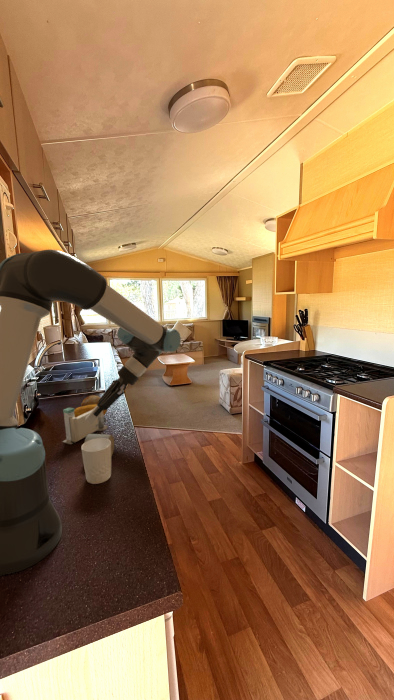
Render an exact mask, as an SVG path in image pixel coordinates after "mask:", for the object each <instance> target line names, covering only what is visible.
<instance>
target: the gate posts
mask: <svg viewBox="0 0 394 700" xmlns="http://www.w3.org/2000/svg"><path fill="white" fill-rule="evenodd" d="M74 410H75V408H74V407H66V408H63V410H62V412H63V418H64V427H65V428H64V429H65V437H66V438H65V439H64V440H63V441H62V443H64V444H67V445H73V444H75V443H76V442H72V436H71V426H70V418H72V417H75V415H74ZM98 427H99V429H98V430H97V431H96V432H104V431H106V430H108V425H107V424H106V425H105V419H104V416H103V411H102V413H101V414H100V415H99V416H98Z"/></svg>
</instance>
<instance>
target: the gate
mask: <svg viewBox="0 0 394 700" xmlns="http://www.w3.org/2000/svg"><path fill="white" fill-rule="evenodd" d="M91 411H92V410H91ZM91 411H89V412H87V413H84V414H82V415H80V416H78V417H72V418H70V426H71V436H72V442H75V443H76V442H79V441H80V440H82V439H84V438H86V436H87V435H88V434H94V433H95V432H98V431H97V430H98V429H99V427H98V417H97V418H96V420H95V421H94V422H93V423H92V424H91V423H89V422H88V421H86V420H85V418H86V417H87V416H88V415H89V414H90V413H91Z"/></svg>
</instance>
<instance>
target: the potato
mask: <svg viewBox="0 0 394 700" xmlns="http://www.w3.org/2000/svg"><path fill="white" fill-rule="evenodd" d="M96 406H97V404H95V405H87V406H82V407H81V406H79V407H76V408H74V415H75V417H78V416H80V415H82V414H84V413H87V412H89V411H91V410H93V409H94V408H95V407H96ZM107 412H108V409H107V410H103V417H104V416H105V415H106V414H107Z"/></svg>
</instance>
